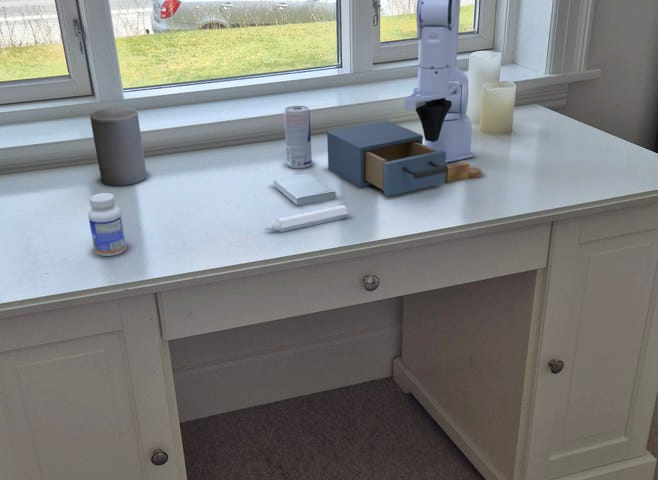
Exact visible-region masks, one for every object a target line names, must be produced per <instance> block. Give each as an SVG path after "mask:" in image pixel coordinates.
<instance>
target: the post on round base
mask: <svg viewBox="0 0 658 480" xmlns="http://www.w3.org/2000/svg"><path fill="white" fill-rule="evenodd" d="M446 165H447V167H448V172H446V173H445V183H453V182H458V181H461V180H465V179H469V178H471V179H476V178H480V177H482V169H481V168H479V167H475V166H473V167H470V162H467V161H465V160H464V161H459V162H454V163H449V164H446Z"/></svg>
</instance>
